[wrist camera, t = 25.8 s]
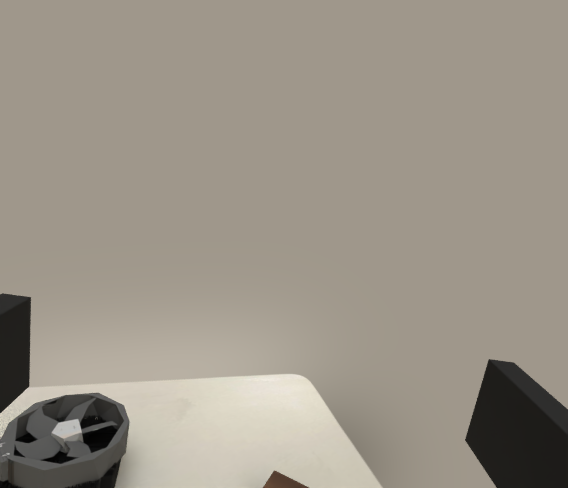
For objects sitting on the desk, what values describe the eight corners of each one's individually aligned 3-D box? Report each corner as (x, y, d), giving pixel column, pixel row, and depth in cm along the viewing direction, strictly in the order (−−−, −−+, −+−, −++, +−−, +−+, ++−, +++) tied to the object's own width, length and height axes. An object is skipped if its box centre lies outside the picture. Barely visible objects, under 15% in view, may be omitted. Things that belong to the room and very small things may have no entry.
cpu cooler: (136, 391, 42) (118, 465, 32) (132, 437, 43) (114, 522, 33) (26, 390, 39) (-29, 470, 30) (25, 439, 40) (-27, 531, 31)
